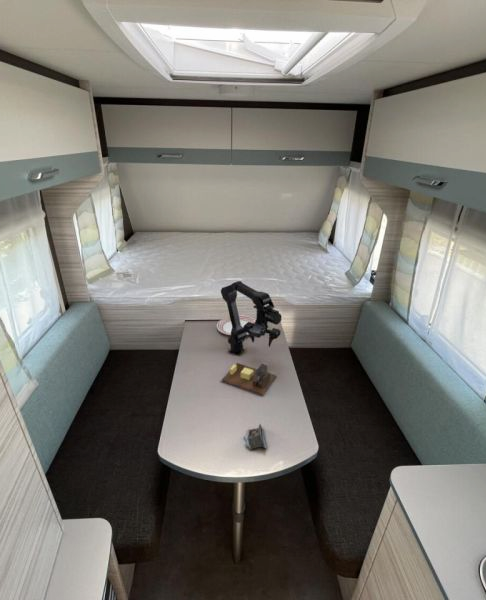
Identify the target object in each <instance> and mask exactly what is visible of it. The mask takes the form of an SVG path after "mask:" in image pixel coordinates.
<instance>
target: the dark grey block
mask: <svg viewBox="0 0 486 600" xmlns="http://www.w3.org/2000/svg"><path fill="white" fill-rule="evenodd" d="M256 369H257V373H256V375H257V376H259V377H258V383H259V382H260V380H261V379H262V378H263V376H264V375H265V372H268V365H267V364H264V363H261V364H260V365H259V366H258V368H256Z"/></svg>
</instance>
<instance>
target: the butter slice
mask: <svg viewBox="0 0 486 600" xmlns="http://www.w3.org/2000/svg"><path fill="white" fill-rule="evenodd" d="M236 370H237V365H236V363H234V364H233V365H232V366H230V367H229V371H230V374H232V375H233V374H234V373H235V371H236Z"/></svg>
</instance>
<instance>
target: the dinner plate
mask: <svg viewBox="0 0 486 600" xmlns="http://www.w3.org/2000/svg"><path fill="white" fill-rule="evenodd" d="M239 319H240V323H241V326H242V327H244V325H245V324H246V323H247V322H251V323H254V324H255V321H256V318H254V317H251V316H248V315H242V314H241V315H239ZM216 329H217V330H218V331H219V332H220V333H222V334H224V335H227V336H231V330H232V324H231V319H230V315H229V316H226V317H224V318H222V319H220V320H219V321H217V324H216ZM246 333H247V332H246ZM248 335H249V334H248V333H247V336H248Z"/></svg>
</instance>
